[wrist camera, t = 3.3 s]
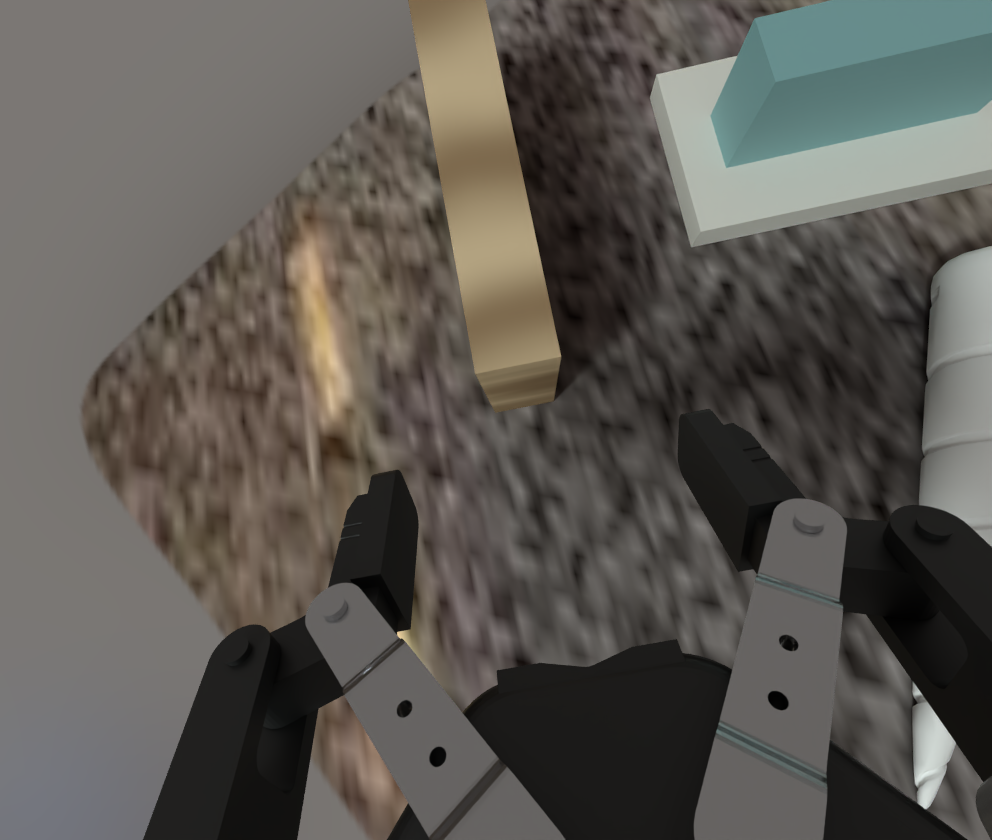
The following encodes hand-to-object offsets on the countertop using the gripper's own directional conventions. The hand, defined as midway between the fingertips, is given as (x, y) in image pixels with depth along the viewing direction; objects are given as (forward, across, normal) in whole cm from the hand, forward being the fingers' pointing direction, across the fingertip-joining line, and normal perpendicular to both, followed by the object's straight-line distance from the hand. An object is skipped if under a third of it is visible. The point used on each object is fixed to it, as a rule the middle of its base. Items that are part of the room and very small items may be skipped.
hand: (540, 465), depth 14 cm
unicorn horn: (+4, -18, +11) cm, 21 cm away
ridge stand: (+17, -18, -3) cm, 25 cm away
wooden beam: (+15, 0, -1) cm, 15 cm away
